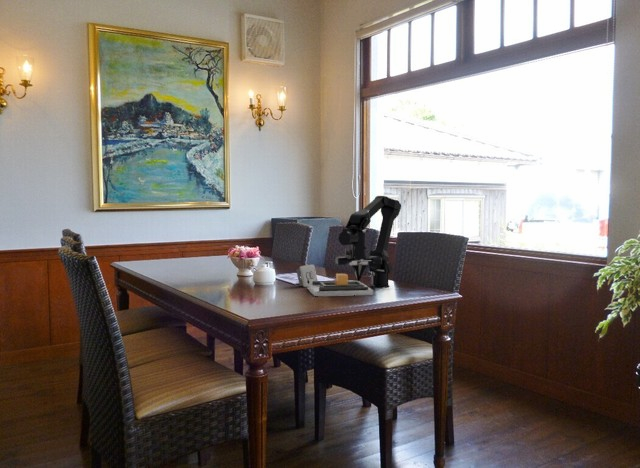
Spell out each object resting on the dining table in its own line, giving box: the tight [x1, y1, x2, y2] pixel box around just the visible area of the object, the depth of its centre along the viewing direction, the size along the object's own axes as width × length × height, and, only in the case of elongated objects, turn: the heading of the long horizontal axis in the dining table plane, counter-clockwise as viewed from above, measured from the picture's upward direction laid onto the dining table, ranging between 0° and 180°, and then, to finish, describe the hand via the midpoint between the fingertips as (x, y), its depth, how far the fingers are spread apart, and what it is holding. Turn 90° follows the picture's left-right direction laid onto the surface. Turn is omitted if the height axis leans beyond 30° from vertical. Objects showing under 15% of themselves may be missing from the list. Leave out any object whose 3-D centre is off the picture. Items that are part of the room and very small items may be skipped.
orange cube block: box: [335, 273, 349, 285], centre depth 234 cm, size 4×5×5 cm
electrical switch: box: [295, 264, 319, 288], centre depth 249 cm, size 9×5×9 cm, turn 141°
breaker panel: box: [307, 279, 374, 297], centre depth 234 cm, size 24×18×4 cm
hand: (358, 280), depth 235 cm, fingers closed
